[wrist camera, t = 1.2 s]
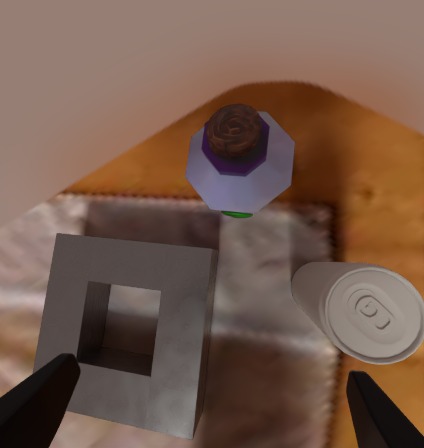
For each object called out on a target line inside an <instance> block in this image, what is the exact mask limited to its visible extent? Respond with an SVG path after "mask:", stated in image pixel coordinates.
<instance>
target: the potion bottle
mask: <svg viewBox="0 0 424 448" xmlns="http://www.w3.org/2000/svg"><path fill="white" fill-rule="evenodd" d="M294 148H295V142H294V141H293V139H292V138H291V137H290V136H289V135H288V134H287V133H286V132H285V131H284V130H283V129H282V128H281V127H280V126H279V124H278V123H277V122H276V121H275V120H274V119H273V118H272V117H271V116H270V115H269V114H268V113H267V112H264V111H256V110H255V109H253V108H252V107H250V106H247V105H243V104H233V105H228V106H225V107H223V108H220V109H219V110H218V111H217V112H216V113H215V114H214V115H212V117H211V118H210V120H209V121H208V122H206V123H205V126H204V127H203V128H201V129H200V130H199V131H198V132H197V133H195V134H194V135H193V136H192V137H191V142H190V149H189V155H188V162H187V169H186V176H185V177H186V179H187V180H188V181H189V182H190V184H191V185H192V186H193V187H194V189H195V190H196V191H197V193H198V194H199V195H200V196H201V198H202V199H203V200H204V201H205V203H206V204H207V205H208V207H209V208H210V209H212V210H221V212H222V213H223V214H224V215H228V216H231V217H234V218H246V217H251V216H253V214H255V213H257V212H258V211H259V210H260V209H262V208H263V207H264V206H265V205H267V204H268V203H269V202H270V201H272V200H273V199H274V198H276V197H277V196H278V195H279V194H281V193H282V192H283V191H284V190H286V189H287V188H288V187H290V186H291V179H292V168H293V158H294Z"/></svg>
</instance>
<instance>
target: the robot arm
mask: <svg viewBox="0 0 424 448" xmlns="http://www.w3.org/2000/svg"><path fill="white" fill-rule="evenodd" d="M80 374H81V369H80V366H79V364H78V362H77V359H76V357H75V355H74V354H72V353H61V354H59V355H58V356H57V357H55V358H54V359H52V360H51V361H50V362H48V363H47V364H46V365H44V366H43V367H41V368H40V369H39V370H37V371H36V372H35V373H33V374H32V375H31V376H29V377H28V378H26V379H25V380H24V381H22V382H21V383H20V384H18V385H17V386H16V387H14V388H13V389H11V390H10V391H9V392H7V393H6V394H5V395H3V396H2V397H0V448H49V446H50V444H51V442H52V440H53V438H54V436H55V434H56V432H57V430H58V428H59V426H60V424H61V421H62V419H63V417H64V414H65V412H66V409H67V407H68V404H69V402H70V400H71V397H72V395H73V392H74V390H75V387H76V385H77V382H78V380H79V377H80ZM346 393H347V399H348V403H349V408H350V412H351V416H352V421H353V425H354V430H355V434H356V438H357V443H358V447H359V448H424V436H423V435H422V434H421V433H420V432H419V431H418V430H417V428H416V427H415V426H414V425H413V424H412V423H411V422H410V421H409V419H408V418H407V417H406V416H405V415H404V414H403V413H402V412H401V411H400V409H399V408H398V407H397V406H396V405H395V404H394V403H393V402H392V400H391V399H390V398H389V397H388V396H387V395H386V394H385V393H384V392H383V390H382V389H381V388H380V387H379V386H378V385H377V384H376V383H375V381H374V380H373V379H372V378H371V377H370V376H369V375H368V374H367V373H366V372H364V371H354V370H351V371H350V372H349V376H348V382H347V387H346Z"/></svg>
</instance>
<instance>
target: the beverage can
mask: <svg viewBox="0 0 424 448" xmlns="http://www.w3.org/2000/svg"><path fill="white" fill-rule="evenodd" d="M291 290H292V295H293V297H294V300H295V301H296V303H297V304H298V305H299V307H300V308H301V309H302V310H303V311H304V312H305V313H306V314H307V315H308V316H309V318H310V319H311V320H312V321H313V322H314V323H315V324H316V325H317V326H318V328H319V329H320V330H321V331H322V332H323V333H324V334H325V335H326V336H327V338H328V339H329V340H330V341H331V342H332V343H333V344H334V345H336V346H337V347H338V348H339V349H340V350H342V351H343V352H344V353H346V354H348V355H350V356H352V357H354V358H356V359H359V360H361V361H363V362H367V363H372V364H392V363H395V362H398V361H402V360H404V359H405V358H407V357H408V356H410V355H411V354H413V353H414V352H415V351H416V350H417V348H418V347H419V346H420V345H421V343H422V342H423V339H424V302H423V300H422V298H421V296H420V294H419V292H418V291H417V290H416V288H415V287H414V286H413V285H412V284H411V283H410V282H409V281H408V280H407V279H405V278H404V277H402V276H401V275H400V274H398V273H396V272H393V271H392V270H389V269H387V268H384V267H382V266H380V265H374V264H367V263H348V262H322V261H317V262H310V263H307V264H305V265H303V266H302V267H300V268H299V269H298V270H297V272H296V273H295V274H294V277H293V279H292V284H291Z"/></svg>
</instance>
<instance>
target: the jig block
mask: <svg viewBox="0 0 424 448" xmlns="http://www.w3.org/2000/svg"><path fill="white" fill-rule="evenodd" d="M218 252H219V250H215V249H209V248H200V247H190V246H180V245H170V244H160V243H150V242H140V241H130V240H120V239H110V238H100V237H90V236H80V235H71V234H61V233H57V235H56V241H55V247H54V252H53V258H52V264H51V270H50V276H49V281H48V287H47V293H46V299H45V305H44V310H43V316H42V322H41V328H40V334H39V339H38V345H37V351H36V357H35V363H34V368H33V373H35V372H36V371H37V370H39V369H40V368H41V367H43V366H44V365H46V364H47V363H48V362H50V361H51V360H52V359H54V358H55V357H57V356H58V355H59V354H61V353H72V354H74V355H75V357H76V359H77V362H78V364H79V366H80V369H81V374H80V377H79V380H78V382H77V385H76V387H75V390H74V392H73V395H72V397H71V400H70V402H69V404H68V407H67V409H66V411H70V412H74V413H78V414H82V415H87V416H91V417H95V418H100V419H104V420H108V421H112V422H117V423H121V424H125V425H130V426H134V427H138V428H142V429H147V430H151V431H155V432H160V433H164V434H168V435H172V436H177V437H181V438H185V439H190V440H193V437H194V434H195V431H196V428H197V425H198V422H199V420H200V417H201V414H202V411H203V401H204V391H205V381H206V371H207V361H208V351H209V341H210V331H211V321H212V311H213V301H214V291H215V281H216V271H217V262H218ZM111 284H115V285H122V286H130V287H137V288H145V289H152V290H160V291H161V299H160V307H159V315H158V323H157V331H156V340H155V348H154V356H148V355H143V354H137V353H132V352H126V351H120V350H115V349H109V348H104V347H102V342H103V335H104V328H105V321H106V314H107V308H108V301H109V294H110V287H111Z"/></svg>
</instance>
